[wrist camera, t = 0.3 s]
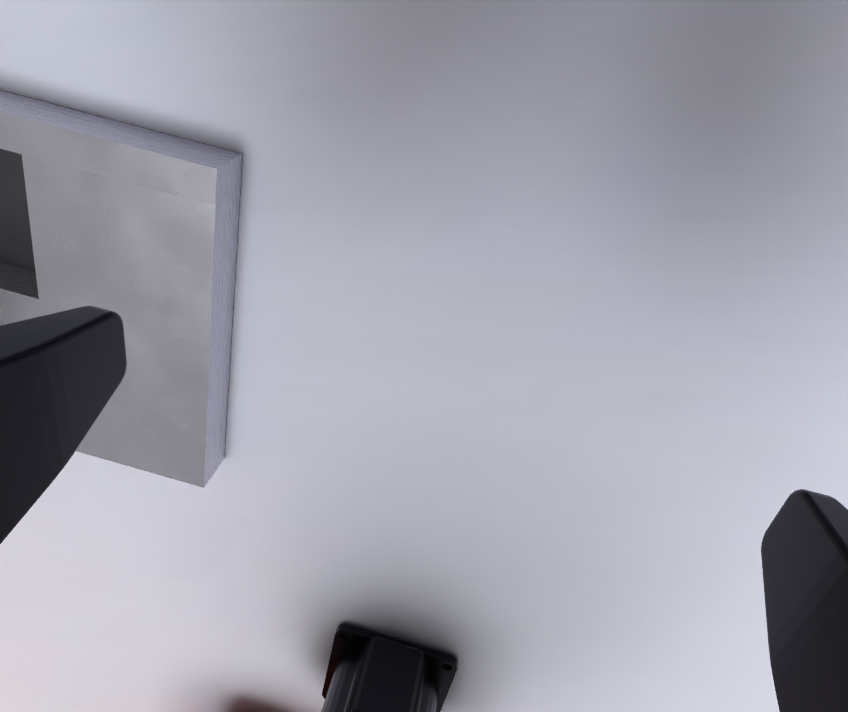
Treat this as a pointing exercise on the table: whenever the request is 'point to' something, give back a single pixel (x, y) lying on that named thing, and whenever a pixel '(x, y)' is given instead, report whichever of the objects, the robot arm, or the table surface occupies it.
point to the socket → (128, 269)
